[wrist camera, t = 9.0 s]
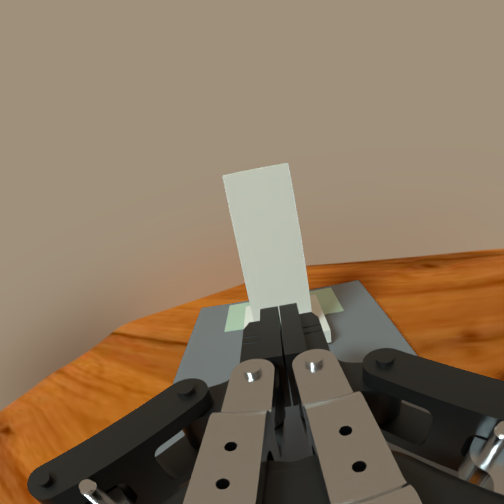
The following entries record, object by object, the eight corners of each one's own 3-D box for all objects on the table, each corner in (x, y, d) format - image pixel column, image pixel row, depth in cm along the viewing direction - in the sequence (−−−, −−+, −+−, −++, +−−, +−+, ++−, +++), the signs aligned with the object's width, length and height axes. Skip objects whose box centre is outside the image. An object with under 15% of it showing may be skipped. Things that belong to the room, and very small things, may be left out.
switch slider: (316, 304, 25) (294, 161, 22) (331, 342, 19) (307, 159, 16) (248, 316, 26) (217, 176, 22) (245, 357, 20) (203, 179, 17)
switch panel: (359, 293, 29) (358, 279, 29) (500, 524, 4) (515, 511, 4) (205, 320, 30) (201, 307, 30) (127, 580, 5) (109, 572, 5)
